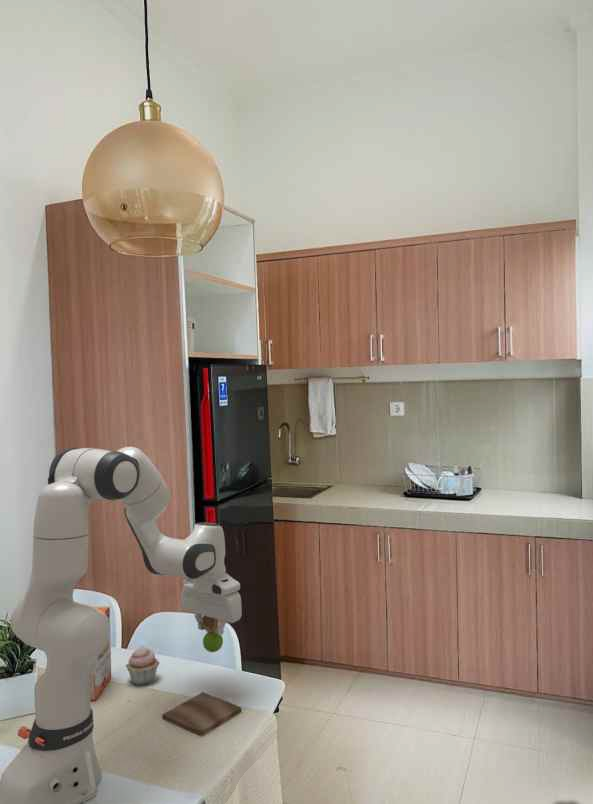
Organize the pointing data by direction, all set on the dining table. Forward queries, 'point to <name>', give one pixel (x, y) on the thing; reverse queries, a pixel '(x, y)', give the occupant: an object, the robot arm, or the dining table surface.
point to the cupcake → (142, 666)
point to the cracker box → (101, 664)
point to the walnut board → (201, 713)
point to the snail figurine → (211, 635)
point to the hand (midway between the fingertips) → (210, 631)
